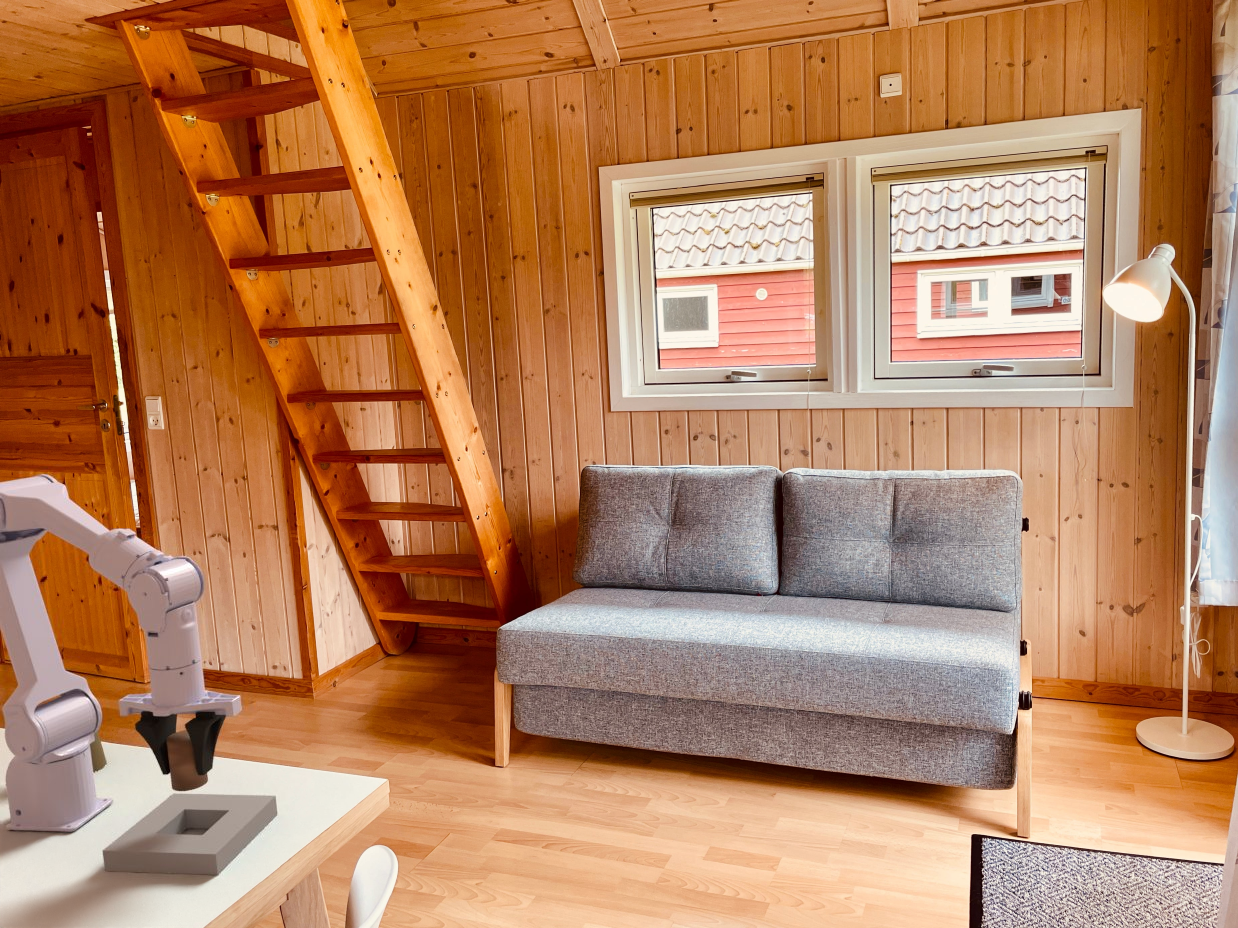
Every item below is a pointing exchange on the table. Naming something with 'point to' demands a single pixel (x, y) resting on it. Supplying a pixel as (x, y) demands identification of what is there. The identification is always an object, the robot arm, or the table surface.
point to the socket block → (169, 852)
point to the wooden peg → (183, 763)
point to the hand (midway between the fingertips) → (187, 771)
